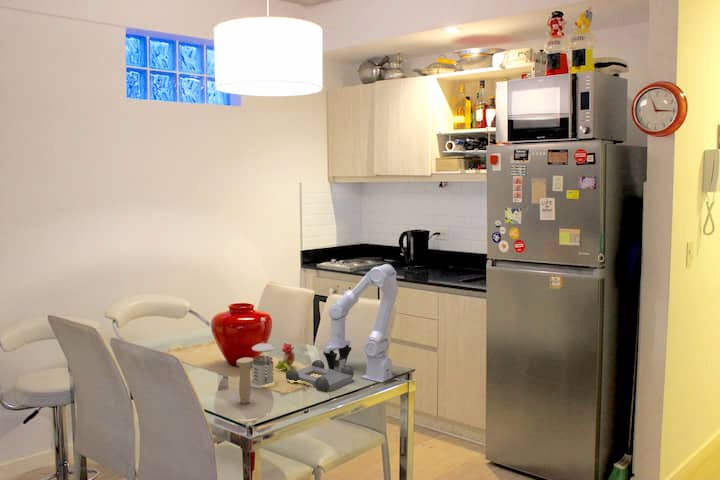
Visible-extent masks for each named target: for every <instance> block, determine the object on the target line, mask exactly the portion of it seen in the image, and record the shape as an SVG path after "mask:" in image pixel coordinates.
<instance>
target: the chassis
mask: <svg viewBox="0 0 720 480" xmlns="http://www.w3.org/2000/svg"><path fill="white" fill-rule="evenodd" d="M313 373H314V374H318V375H322V376H321V377H314V376H310V375H311V374H313ZM285 378H286V380H287V379H289V380H294V381H297V380H301V381H305V382H308V383H310V384H312V385H313V387H312V388H315V389H316V390H318V391H319V392H323V391H326V392H332V391H335V390H336V389H337V390H338V389H339V388H341V387H344V386H346V385H348V384H351V383H353V378H354V370H353V369H352V367H350V366H345V367H344V368H342V369H341V372H340V373H339V372H335V371H331V370H329V369H327V368H325V363H324V362H323V361H322V360H321V359H316V360H314V361H313V362H312V364H311V365H308V366H307V367H303V368H301V369H298V370H296V369H293V368H291V370H286V373H285Z"/></svg>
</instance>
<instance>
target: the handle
mask: <svg viewBox="0 0 720 480" xmlns="http://www.w3.org/2000/svg"><path fill="white" fill-rule="evenodd" d="M253 358H254V357H247V356H246V357H241V358H239V359H237V360H236V366H238V367H239V382H238V384H239V385H238V386H239V387H238V388H239V389H238V391H239V398H240V404H243V405H244V404H249V403H250V398H251V391H252V386H251V381H252V379H251V367H252V364H253V362H254V359H253Z"/></svg>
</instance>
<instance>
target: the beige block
mask: <svg viewBox="0 0 720 480" xmlns="http://www.w3.org/2000/svg"><path fill="white" fill-rule="evenodd" d="M344 367H346V364H345V358H341V357H340V356H338V355H337V356H336V359H335V367H334V370H332V369H329V368H328V370H331V371H335V372H339V373H341V369H342V368H344Z"/></svg>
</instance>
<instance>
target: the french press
mask: <svg viewBox="0 0 720 480" xmlns="http://www.w3.org/2000/svg"><path fill="white" fill-rule="evenodd" d="M260 322H262V323H265V322H266V318H265V317H262V318H260ZM251 349H252V351H253V352H258V353H268V352H271V351H273V350H274V349H275V347H274V346H273V345H271V344H270V343H265V342H261V343H260V342H259V343H258V344H255V345H253V346H252V347H251ZM252 358H253V359H254V362H253V364H252V365H251V367H252V368H251V369H252V370H251V371H252V373H251V374H252V375H251V377H252V379H251V381H252V382H251V388H257V389H262V388H261V385H265V384H269V383H272V382H273V381H274V361H273V357H272V356H270V354H269V353H268V355H265V354H263V355H258V356H254V357H252Z"/></svg>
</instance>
